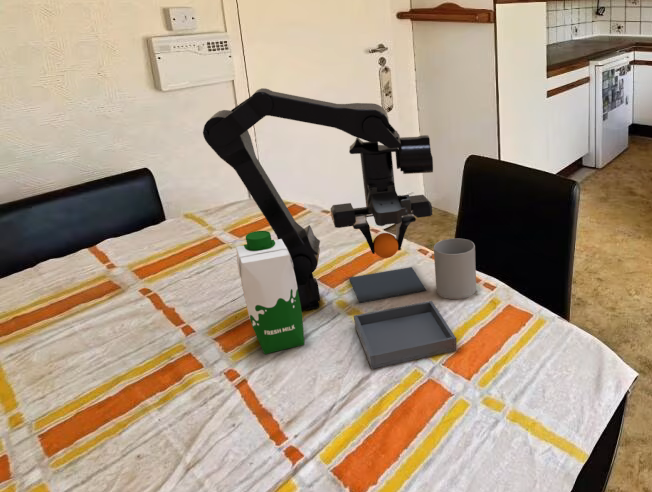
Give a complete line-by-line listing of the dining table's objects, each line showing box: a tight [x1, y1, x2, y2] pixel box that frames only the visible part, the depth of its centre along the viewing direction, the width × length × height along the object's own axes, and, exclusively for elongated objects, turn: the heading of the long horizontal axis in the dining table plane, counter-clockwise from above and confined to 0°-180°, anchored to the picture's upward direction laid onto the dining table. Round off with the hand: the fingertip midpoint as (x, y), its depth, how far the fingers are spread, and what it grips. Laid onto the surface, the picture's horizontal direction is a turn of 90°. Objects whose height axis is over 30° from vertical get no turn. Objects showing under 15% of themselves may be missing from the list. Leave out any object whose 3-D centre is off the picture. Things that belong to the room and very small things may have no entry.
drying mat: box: [349, 266, 427, 304], centre depth 134 cm, size 14×12×1 cm
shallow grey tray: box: [353, 300, 458, 370], centre depth 114 cm, size 15×15×3 cm
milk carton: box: [235, 230, 305, 355], centre depth 109 cm, size 9×9×20 cm
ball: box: [373, 232, 399, 259], centre depth 124 cm, size 5×5×5 cm
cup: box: [433, 237, 477, 300], centre depth 129 cm, size 8×8×10 cm
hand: (386, 251), depth 124 cm, fingers closed on ball, 5 cm apart
